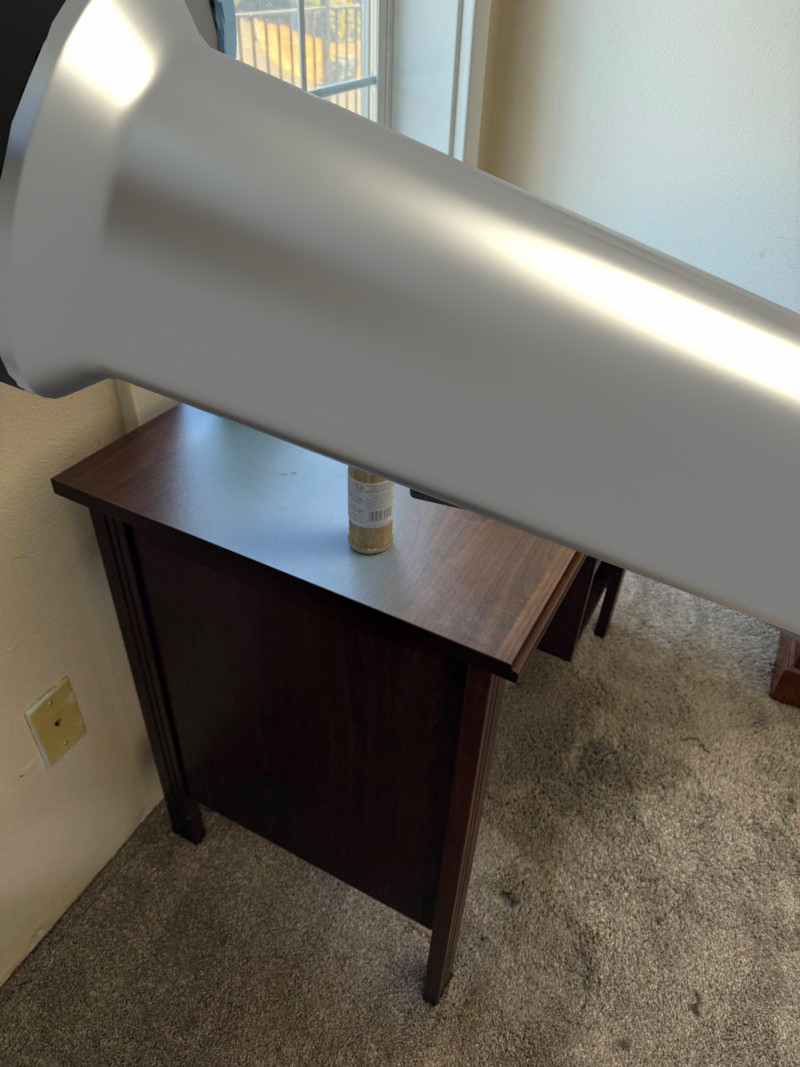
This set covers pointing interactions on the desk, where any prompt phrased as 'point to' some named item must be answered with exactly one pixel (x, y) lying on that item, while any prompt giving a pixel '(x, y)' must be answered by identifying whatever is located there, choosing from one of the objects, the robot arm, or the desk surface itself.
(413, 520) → the desk surface
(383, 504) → the sprinkles bottle
